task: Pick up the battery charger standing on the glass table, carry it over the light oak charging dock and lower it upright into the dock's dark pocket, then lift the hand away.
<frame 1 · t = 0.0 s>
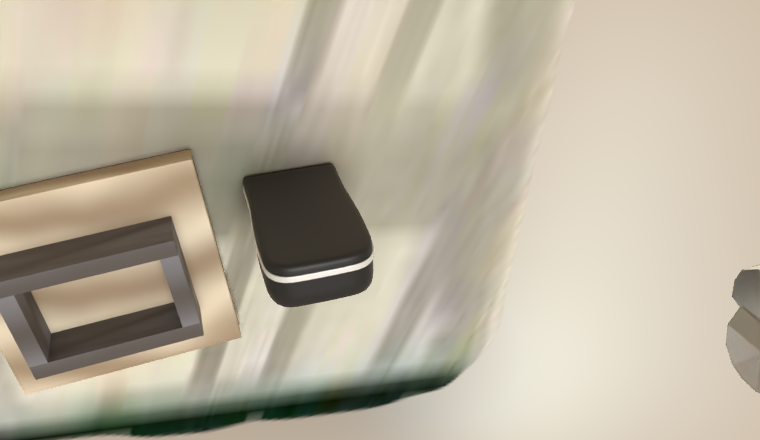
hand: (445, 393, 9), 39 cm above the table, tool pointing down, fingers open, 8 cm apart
dock: (104, 271, 51), on the table
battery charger: (290, 189, 52), on the table
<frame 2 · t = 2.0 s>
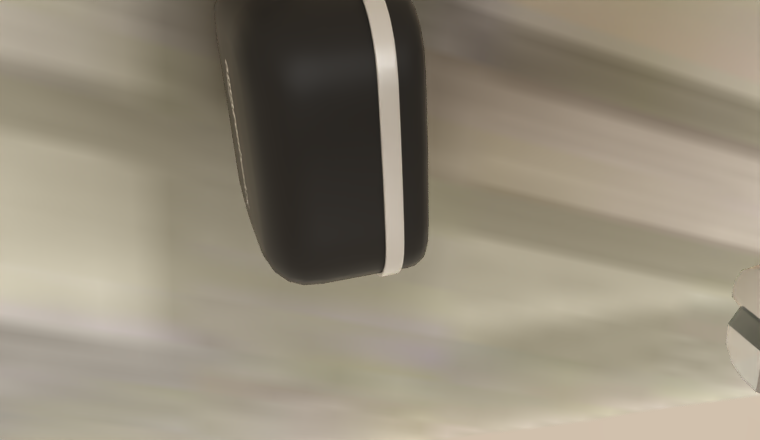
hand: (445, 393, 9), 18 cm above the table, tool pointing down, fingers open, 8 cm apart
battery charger: (268, 35, 24), on the table
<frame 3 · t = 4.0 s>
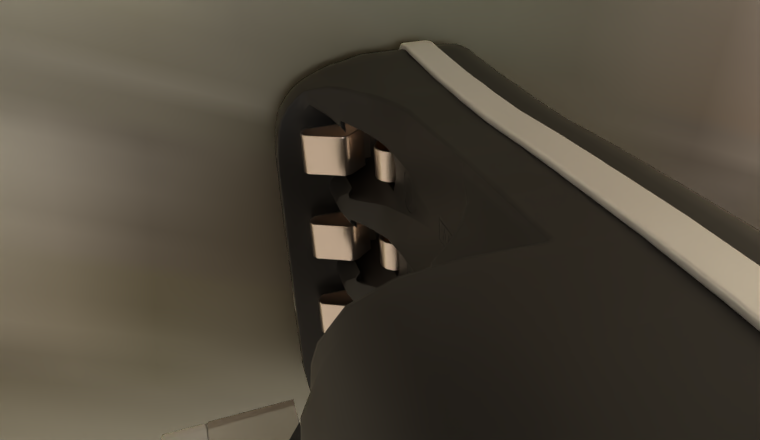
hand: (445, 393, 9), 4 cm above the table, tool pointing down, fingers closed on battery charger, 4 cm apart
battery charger: (353, 232, 13), on the table, touching gripper
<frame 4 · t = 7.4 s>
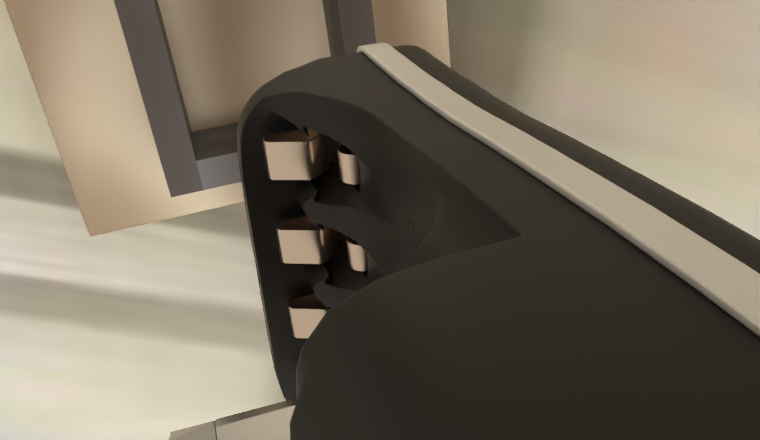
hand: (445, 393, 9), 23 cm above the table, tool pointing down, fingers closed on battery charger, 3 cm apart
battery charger: (318, 235, 13), point 19 cm above the table, touching gripper
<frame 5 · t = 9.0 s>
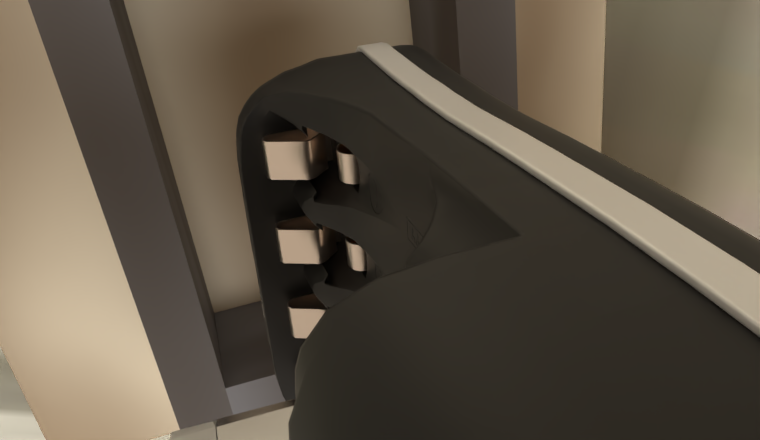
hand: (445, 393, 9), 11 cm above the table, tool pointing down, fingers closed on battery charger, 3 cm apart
dock: (286, 105, 18), on the table
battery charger: (317, 235, 13), point 7 cm above the table, touching gripper
when the fingers open (7 cm above the table, at t = 10.6 s): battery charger moves 1 cm, point 2 cm above the table.
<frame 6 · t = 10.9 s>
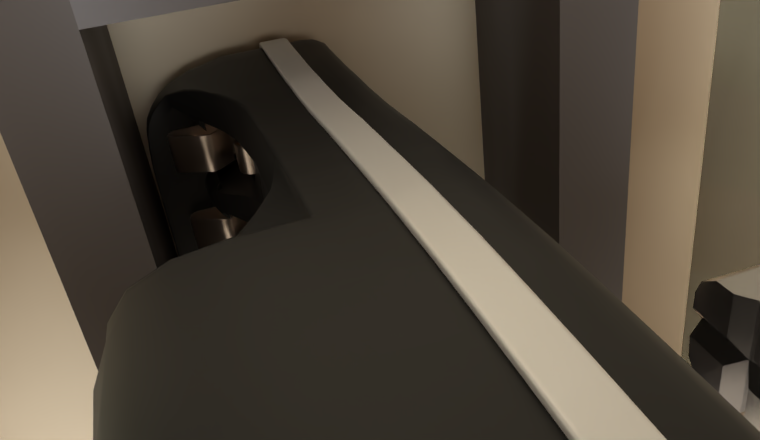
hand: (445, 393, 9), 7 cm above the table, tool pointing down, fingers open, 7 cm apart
dock: (318, 170, 15), on the table
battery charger: (245, 224, 13), point 2 cm above the table
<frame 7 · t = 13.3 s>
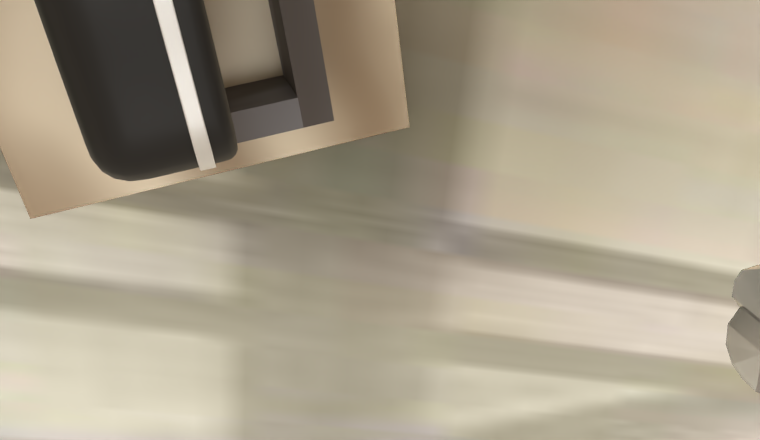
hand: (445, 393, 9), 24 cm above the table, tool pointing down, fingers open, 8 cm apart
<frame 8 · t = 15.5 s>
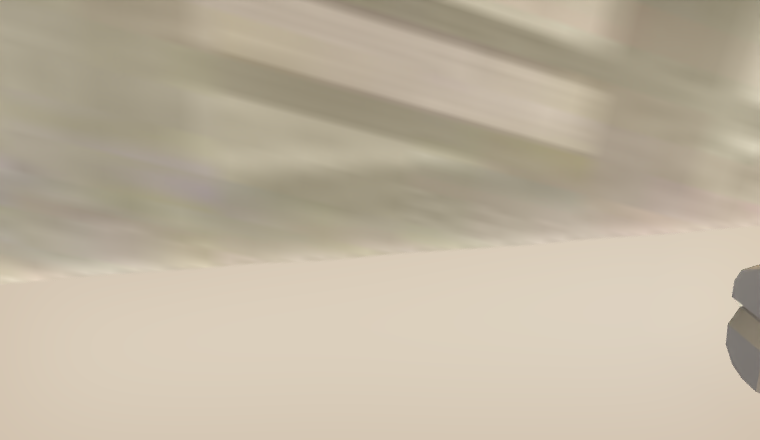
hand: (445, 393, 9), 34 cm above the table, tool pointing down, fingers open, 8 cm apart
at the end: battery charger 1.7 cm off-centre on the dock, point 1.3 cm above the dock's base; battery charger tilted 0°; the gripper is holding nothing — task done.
